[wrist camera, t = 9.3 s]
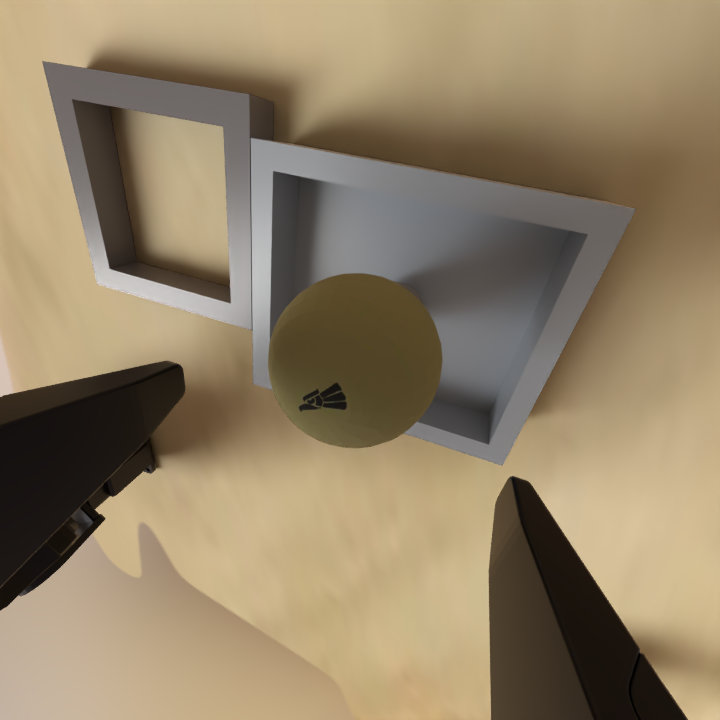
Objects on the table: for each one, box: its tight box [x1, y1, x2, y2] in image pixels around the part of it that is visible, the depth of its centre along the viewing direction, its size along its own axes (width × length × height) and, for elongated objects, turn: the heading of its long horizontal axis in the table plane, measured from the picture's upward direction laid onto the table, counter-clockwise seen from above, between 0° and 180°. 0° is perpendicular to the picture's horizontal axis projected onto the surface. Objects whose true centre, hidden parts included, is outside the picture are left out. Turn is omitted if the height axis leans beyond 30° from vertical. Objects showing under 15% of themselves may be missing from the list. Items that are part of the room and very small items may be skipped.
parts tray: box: [251, 138, 636, 465], centre depth 17 cm, size 14×12×4 cm
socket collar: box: [42, 61, 274, 330], centre depth 19 cm, size 11×11×2 cm
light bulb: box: [268, 273, 443, 448], centre depth 13 cm, size 6×6×10 cm
